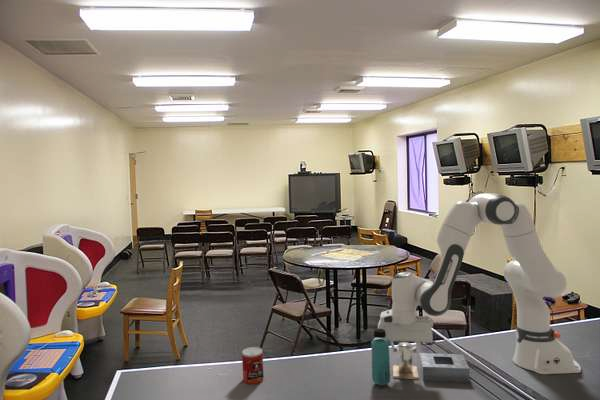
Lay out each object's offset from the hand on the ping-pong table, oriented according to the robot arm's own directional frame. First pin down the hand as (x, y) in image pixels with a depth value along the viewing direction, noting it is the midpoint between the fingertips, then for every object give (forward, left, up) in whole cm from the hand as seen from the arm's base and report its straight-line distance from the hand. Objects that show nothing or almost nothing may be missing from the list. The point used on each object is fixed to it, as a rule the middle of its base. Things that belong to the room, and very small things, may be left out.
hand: (404, 351), depth 162 cm
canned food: (+56, +11, -8) cm, 58 cm away
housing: (-14, -1, -8) cm, 16 cm away
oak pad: (0, 0, -8) cm, 8 cm away
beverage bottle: (+9, +10, -8) cm, 16 cm away
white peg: (0, 0, -7) cm, 7 cm away
